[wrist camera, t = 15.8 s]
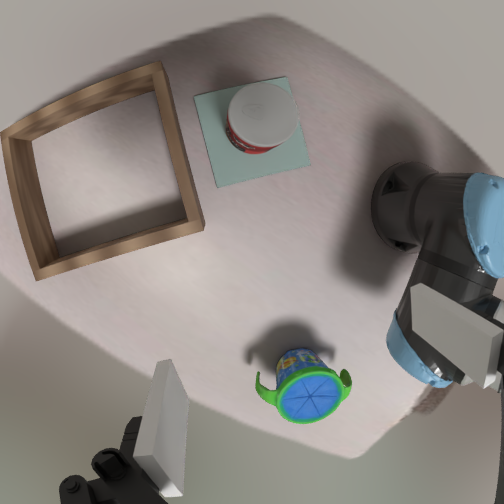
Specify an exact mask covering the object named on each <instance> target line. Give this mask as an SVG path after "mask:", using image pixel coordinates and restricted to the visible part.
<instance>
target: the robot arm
mask: <svg viewBox="0 0 504 504" xmlns="http://www.w3.org/2000/svg"><path fill="white" fill-rule="evenodd" d="M371 212H372V219H373V223H374V226H375V228H376V231H377V232H378V234H379V236H380V237H381V238H382V240H383V241H384V242H385V243H386V244H388V245H389V246H391V247H392V248H395V249H397V250H399V251H402V252H406V253H417V252H419V255H418V258H417V260H416V263H415V265H414V268H413V271H412V274H411V276H410V279H409V281H408V284H407V286H406V289H405V291H404V294H403V296H402V299H401V301H400V303H399V305H398V308H396V310H395V312H394V315H393V320H392V323H391V325H390V328H389V330H388V333H387V337H386V343H387V347H388V349H389V352H390V354H391V355H392V357H393V358H394V360H395V361H396V362H397V363H398V364H399V365H400V366H401V367H402V368H403V369H404V370H405V371H406V372H408V373H409V374H410V375H412V376H413V377H415V378H416V379H418V380H419V381H421V382H423V383H425V384H427V383H429V384H430V385H431V386H433V387H437V388H443V387H446V386H448V385H449V384H451V383H452V382H453V381H455V382H457V383H459V384H460V385H466V384H469V383H472V382H476V383H477V384H478V385H479V386H480V387H482V388H483V389H484V388H486V387H487V386H489V387H491V388H493V389H495V390H497V391H498V393H501V403H502V404H501V405H502V431H501V452H500V466H499V476H498V484H497V491H496V498H495V503H494V504H504V301H503V300H501V299H499V298H497V297H495V296H493V295H492V294H493V291H494V288H495V285H496V282H497V280H498V278H503V277H504V178H502V177H499V176H492V175H488V174H484V173H439V172H438V171H436V170H434V169H432V168H430V167H429V166H427V165H425V164H422V163H418V162H402V163H398V164H395V165H393V166H391V167H390V168H389V169H387V170H386V171H385V172H384V173H383V174H382V176H381V177H380V178H379V180H378V182H377V184H376V186H375V189H374V192H373V196H372V202H371ZM188 409H189V398H188V396H187V393H186V391H185V389H184V387H183V385H182V382H181V380H180V378H179V376H178V374H177V371H176V369H175V367H174V364H173V362H172V360H171V359H168V360H164V361H159V362H157V365H156V368H155V372H154V376H153V379H152V383H151V387H150V390H149V394H148V398H147V402H146V405H145V409H144V413H143V416H140V417H133V418H132V419H131V420H130V422H129V423H128V424H127V426H126V429H125V432H124V434H125V435H124V436H123V439H122V440H123V441H122V443H121V446H120V450H118V449H115V448H107V449H104V450H102V451H100V452H98V453H97V454H96V455H95V456H94V458H93V459H92V463H91V465H92V468H93V470H94V471H95V472H96V473H97V474H98V475H99V477H100V478H99V479H95V480H91V481H86V480H85V479H84V478H83V477H82V476H80V475H72V476H69V477H67V478H65V479H64V480H63V481H62V483H61V484H60V487H59V493H60V500H61V504H168V503H167V502H166V501H165V500H164V499H163V498H162V497H161V496H160V495H159V491H160V492H161V493H162V494H163V495H164V496H165V497H174V496H183V485H184V466H185V450H186V435H187V422H188Z"/></svg>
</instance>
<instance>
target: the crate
mask: <svg viewBox="0 0 504 504" xmlns="http://www.w3.org/2000/svg"><path fill="white" fill-rule="evenodd" d="M153 90H155V92H156V97H157V101H158V105H159V110H160V114H161V118H162V122H163V127H164V131H165V135H166V139H167V143H168V147H169V151H170V155H171V159H172V163H173V166H174V170H175V174H176V178H177V182H178V185H179V189H180V193H181V196H182V200H183V204H184V207H185V211H186V214H187V218H185V219H182V220H178V221H175V222H171V223H168V224H165V225H161V226H158V227H155V228H151V229H148V230H145V231H141V232H138V233H135V234H132V235H128V236H125V237H122V238H119V239H116V240H112V241H109V242H106V243H103V244H100V245H97V246H94V247H91V248H88V249H85V250H82V251H79V252H76V253H73V254H70V255H67V256H64V257H61V258H60V256H59V253H58V250H57V246H56V243H55V240H54V237H53V233H52V230H51V227H50V223H49V219H48V216H47V212H46V208H45V204H44V200H43V196H42V192H41V188H40V184H39V179H38V174H37V170H36V165H35V159H34V154H33V148H32V143H31V141H32V140H34V139H36V138H38V137H40V136H42V135H44V134H46V133H48V132H50V131H52V130H54V129H56V128H59V127H61V126H63V125H65V124H67V123H69V122H72V121H74V120H76V119H78V118H81V117H83V116H85V115H88V114H90V113H93V112H95V111H98V110H100V109H103V108H105V107H108V106H110V105H113V104H116V103H118V102H121V101H124V100H127V99H129V98H132V97H135V96H138V95H141V94H144V93H147V92H150V91H153ZM0 136H1V144H2V151H3V157H4V163H5V169H6V174H7V180H8V185H9V189H10V194H11V198H12V203H13V207H14V211H15V215H16V219H17V223H18V226H19V230H20V234H21V237H22V240H23V244H24V247H25V250H26V253H27V257H28V260H29V263H30V266H31V268H32V271H33V274H34V277H35V280H36V281H39V280H42V279H45V278H48V277H51V276H54V275H57V274H60V273H64V272H67V271H70V270H73V269H76V268H79V267H82V266H86V265H89V264H92V263H95V262H99V261H102V260H105V259H108V258H112V257H115V256H118V255H121V254H125V253H128V252H131V251H135V250H138V249H141V248H145V247H148V246H152V245H155V244H159V243H162V242H165V241H169V240H172V239H176V238H179V237H183V236H186V235H190V234H193V233H197V232H201V231H204V227H205V220H204V216H203V213H202V209H201V206H200V202H199V198H198V194H197V191H196V187H195V183H194V180H193V176H192V172H191V168H190V164H189V161H188V157H187V153H186V149H185V145H184V141H183V137H182V133H181V129H180V125H179V121H178V117H177V113H176V109H175V105H174V101H173V96H172V92H171V88H170V84H169V79H168V76H167V74H166V72H165V69H164V67H163V65H162V63H161V61H157V62H154V63H151V64H148V65H145V66H142V67H139V68H136V69H133V70H130V71H127V72H124V73H122V74H119V75H116V76H114V77H111V78H108V79H106V80H103V81H101V82H98V83H96V84H93V85H91V86H89V87H86V88H84V89H82V90H79V91H77V92H75V93H73V94H71V95H68V96H66V97H64V98H62V99H60V100H58V101H56V102H54V103H52V104H50V105H48V106H46V107H44V108H42V109H40V110H38V111H36V112H34V113H32V114H31V115H29V116H27V117H25V118H23V119H22V120H20V121H18V122H16V123H15V124H13V125H11V126H10V127H8V128H6V129H5V130H3V131H1V132H0Z"/></svg>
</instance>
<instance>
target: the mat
mask: <svg viewBox="0 0 504 504" xmlns="http://www.w3.org/2000/svg"><path fill="white" fill-rule="evenodd" d="M262 82H264V83H271V84H274V85H277V86H279V87H281V88H283V89H284V90H286V91H287V92H288V93H289V94H290V95H291V96H292V92H291V89H290V85H289V82H288V79H287V77H284V78H278V79H272V80H266V81H261V82H255V83H262ZM250 84H254V83H250ZM250 84H245V85H240V86H236V87H231V88H227V89H222V90H218V91H214V92H210V93H206V94H202V95H198V96H194V99H195V103H196V107H197V111H198V115H199V119H200V123H201V127H202V131H203V135H204V139H205V142H206V146H207V150H208V154H209V158H210V162H211V165H212V169H213V173H214V177H215V181H216V185H217V188H220V187H223V186H227V185H231V184H235V183H238V182H242V181H246V180H250V179H254V178H258V177H262V176H266V175H270V174H275V173H279V172H283V171H287V170H292V169H296V168H300V167H305V166H309V165H311V164H310V160H309V156H308V152H307V148H306V144H305V140H304V136H303V132H302V128H301V125H300V121H299V122H298V126H297V128H296V130H295V132H294V133H293V135H292V136H291V137H290V138H289V139H288V140H286V141H285V142H284V143H282V144H280V145H279V146H277V147H275V148H273V149H271V150H269V151H267V152H265V153H262V154H248V153H244V152H242V151H240V150H238V149H237V148H235V147H234V146H233V145H232V144H231V142H230V141H229V139H228V137H227V134H226V129H225V128H226V119H227V112H228V108H229V105H230V102H231V100H232V98H233V97H234V95H235V94H236V93H237V92H238V91H239V90H241V89H242V88H243V87H245V86H247V85H250ZM292 97H293V96H292Z"/></svg>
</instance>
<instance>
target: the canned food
mask: <svg viewBox="0 0 504 504" xmlns="http://www.w3.org/2000/svg"><path fill="white" fill-rule="evenodd" d="M298 122H299V110H298V107H297V104H296V102H295V100H294V99H293V97H292V96H291V95H290V94H289V93H288V92H287V91H286V90H284V89H283V88H281V87H279V86H277V85H274V84H271V83H264V82H262V83H254V84H250V85H247V86H245V87H243V88H242V89H241V90H239V91H238V92H237V93H236V94H235V95H234V97H233V98H232V100H231V102H230V105H229V108H228V112H227V119H226V128H225V129H226V134H227V137H228V139H229V141H230V142H231V144H232V145H233V146H234V147H235V148H237V149H238V150H240V151H242V152H244V153H248V154H262V153H265V152H267V151H269V150H271V149H273V148H275V147H277V146H279V145H280V144H282V143H284V142H285V141H286V140H288V139H289V138H290V137H291V136H292V135H293V133H294V132H295V130H296V128H297V126H298Z"/></svg>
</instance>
